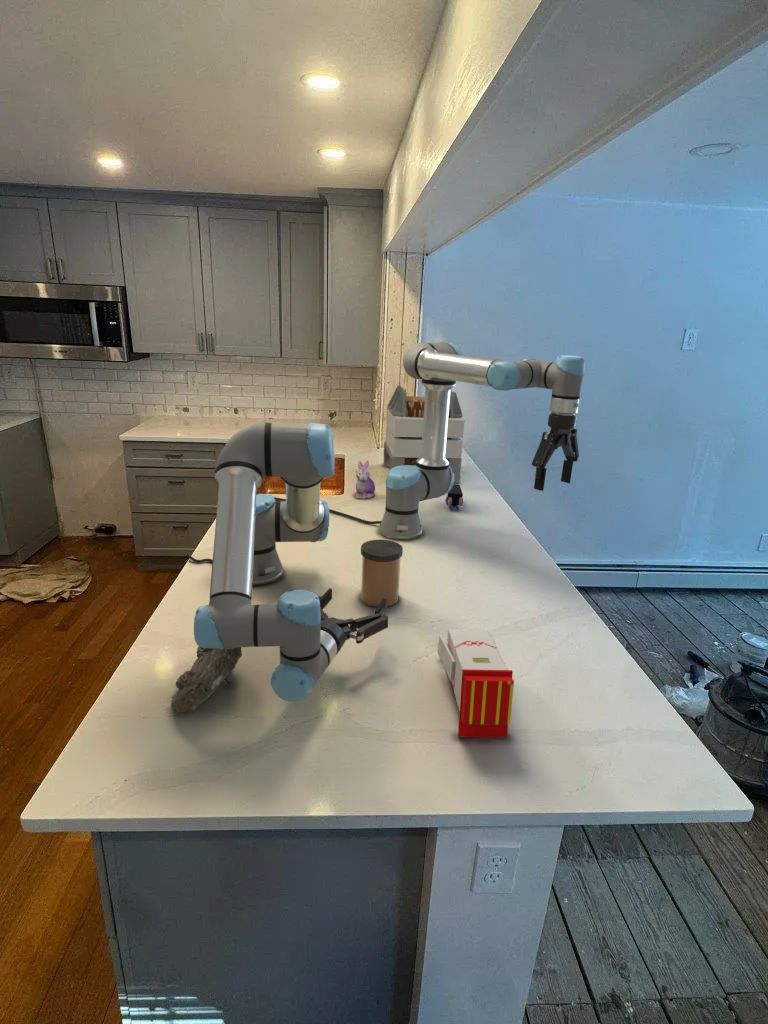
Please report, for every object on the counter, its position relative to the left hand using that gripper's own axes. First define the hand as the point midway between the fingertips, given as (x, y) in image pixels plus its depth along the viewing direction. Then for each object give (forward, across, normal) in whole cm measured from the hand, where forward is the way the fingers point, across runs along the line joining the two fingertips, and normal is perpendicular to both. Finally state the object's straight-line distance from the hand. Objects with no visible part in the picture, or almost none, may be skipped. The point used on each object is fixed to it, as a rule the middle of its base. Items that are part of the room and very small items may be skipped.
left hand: (357, 598), depth 135 cm
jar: (+19, 0, -9) cm, 21 cm away
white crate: (+146, -21, -8) cm, 148 cm away
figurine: (+101, -34, -8) cm, 107 cm away
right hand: (+53, +41, +19) cm, 69 cm away
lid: (+19, 0, +5) cm, 20 cm away
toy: (-12, +30, -10) cm, 34 cm away
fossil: (-29, -21, -10) cm, 37 cm away
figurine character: (+104, +4, -8) cm, 105 cm away
